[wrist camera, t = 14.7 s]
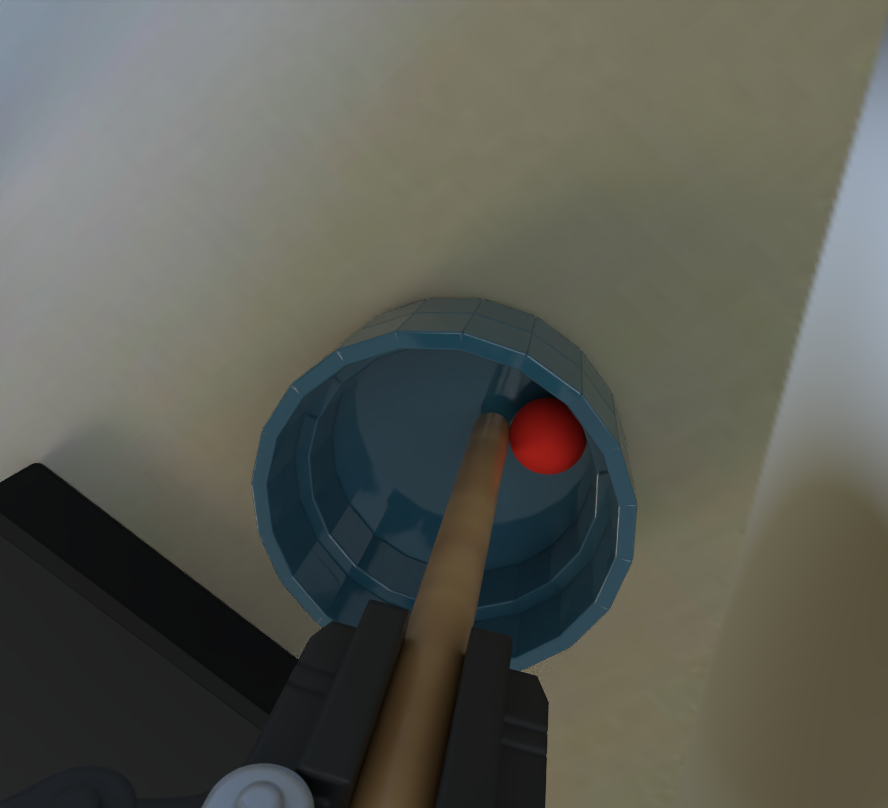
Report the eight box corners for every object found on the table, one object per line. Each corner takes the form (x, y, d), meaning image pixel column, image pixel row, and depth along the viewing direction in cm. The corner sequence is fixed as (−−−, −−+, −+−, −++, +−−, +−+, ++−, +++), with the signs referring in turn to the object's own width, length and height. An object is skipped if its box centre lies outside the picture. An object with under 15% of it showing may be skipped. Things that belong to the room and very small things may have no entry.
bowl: (264, 348, 24) (191, 394, 20) (571, 249, 21) (570, 276, 17) (376, 607, 27) (335, 701, 23) (659, 552, 24) (678, 646, 20)
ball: (557, 440, 19) (610, 410, 21) (498, 399, 21) (551, 374, 22) (544, 501, 21) (594, 470, 22) (489, 459, 22) (540, 432, 24)
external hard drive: (316, 674, 29) (288, 730, 26) (82, 908, 37) (43, 969, 35) (37, 460, 28) (-23, 495, 25) (-138, 753, 36) (-197, 803, 33)
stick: (469, 415, 22) (279, 941, 7) (506, 408, 22) (386, 941, 7) (478, 449, 23) (313, 1017, 8) (514, 443, 22) (415, 1019, 7)
